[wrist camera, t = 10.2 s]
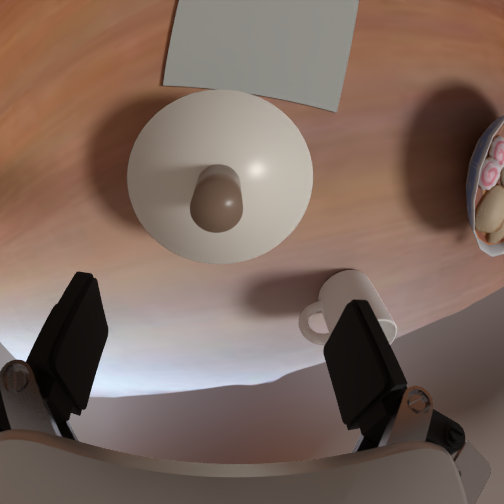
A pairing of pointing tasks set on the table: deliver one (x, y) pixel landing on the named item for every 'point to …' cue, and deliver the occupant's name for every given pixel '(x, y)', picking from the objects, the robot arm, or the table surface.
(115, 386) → the table surface
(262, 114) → the lid
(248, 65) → the mat
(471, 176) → the ramen bowl
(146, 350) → the table surface
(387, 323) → the mug
